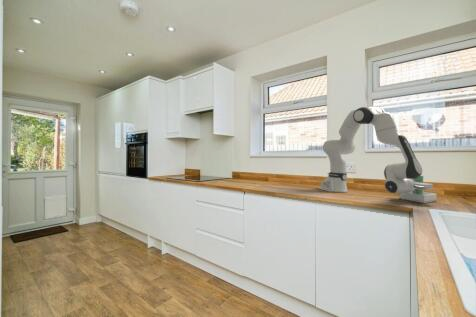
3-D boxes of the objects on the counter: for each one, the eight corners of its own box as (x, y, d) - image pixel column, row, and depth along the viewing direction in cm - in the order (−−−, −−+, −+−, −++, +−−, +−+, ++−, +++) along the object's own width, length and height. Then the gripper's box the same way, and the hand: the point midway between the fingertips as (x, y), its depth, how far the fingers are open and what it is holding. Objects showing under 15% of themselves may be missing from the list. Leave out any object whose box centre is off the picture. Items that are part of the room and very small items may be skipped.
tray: (399, 198, 149) (399, 191, 149) (411, 196, 155) (411, 190, 155) (424, 202, 136) (424, 195, 136) (436, 201, 142) (436, 193, 142)
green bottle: (410, 195, 147) (411, 172, 146) (415, 194, 149) (416, 172, 148) (419, 197, 142) (420, 173, 142) (424, 196, 144) (425, 172, 144)
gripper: (426, 182, 130) (438, 181, 136) (389, 178, 149) (401, 177, 155) (425, 193, 131) (438, 191, 137) (389, 187, 149) (401, 186, 155)
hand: (418, 184), depth 146 cm, fingers closed on green bottle, 5 cm apart
